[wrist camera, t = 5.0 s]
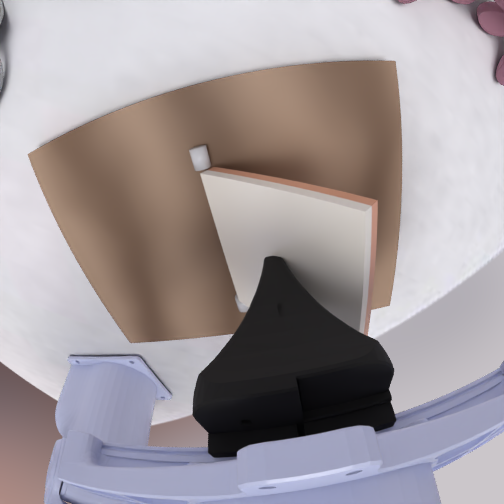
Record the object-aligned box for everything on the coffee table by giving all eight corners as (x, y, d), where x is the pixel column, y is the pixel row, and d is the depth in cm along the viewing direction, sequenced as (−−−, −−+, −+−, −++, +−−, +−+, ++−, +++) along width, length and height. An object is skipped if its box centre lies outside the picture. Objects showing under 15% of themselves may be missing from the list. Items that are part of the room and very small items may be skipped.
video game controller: (497, 47, 10) (565, 25, 4) (503, 95, 11) (584, 79, 4) (386, -39, 9) (448, -98, 2) (384, 0, 9) (467, -68, 2)
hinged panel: (352, 381, 13) (361, 370, 13) (364, 173, 7) (377, 164, 7) (235, 308, 18) (245, 301, 19) (185, 150, 13) (199, 144, 13)
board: (134, 331, 22) (130, 342, 21) (38, 147, 13) (27, 154, 12) (384, 294, 20) (389, 305, 19) (384, 60, 11) (395, 61, 10)
